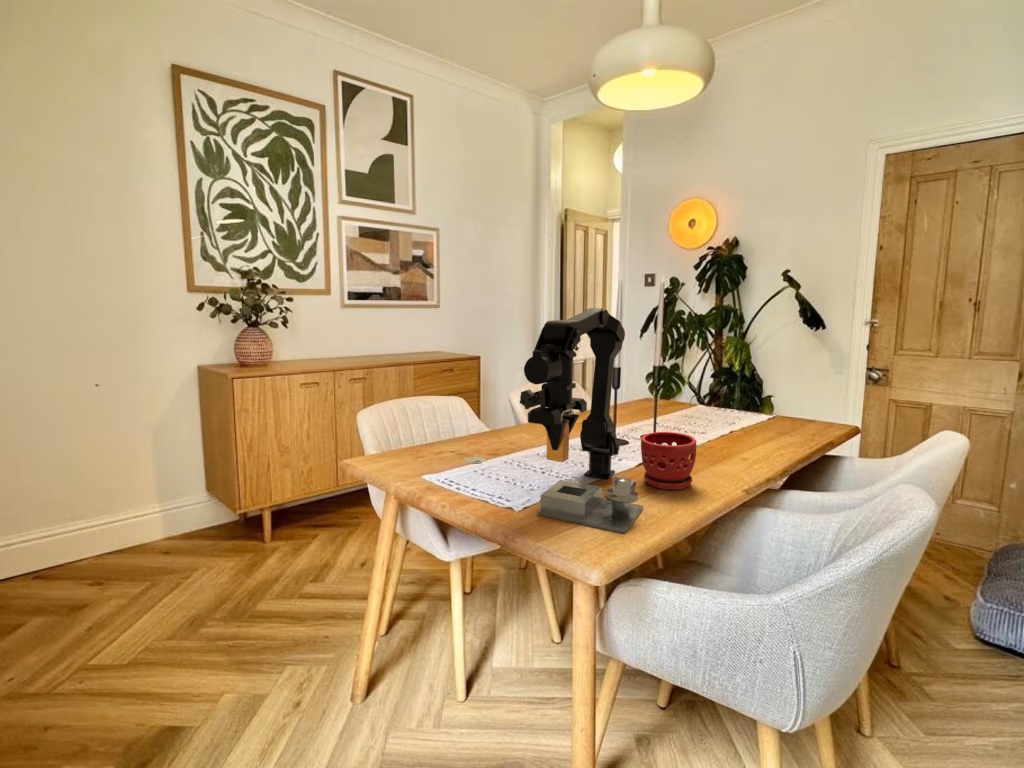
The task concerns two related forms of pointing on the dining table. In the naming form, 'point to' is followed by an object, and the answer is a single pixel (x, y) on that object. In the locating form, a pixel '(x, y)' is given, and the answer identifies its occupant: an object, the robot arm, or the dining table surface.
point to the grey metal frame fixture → (593, 504)
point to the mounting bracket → (475, 460)
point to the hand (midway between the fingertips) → (558, 448)
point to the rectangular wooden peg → (560, 446)
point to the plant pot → (668, 459)
